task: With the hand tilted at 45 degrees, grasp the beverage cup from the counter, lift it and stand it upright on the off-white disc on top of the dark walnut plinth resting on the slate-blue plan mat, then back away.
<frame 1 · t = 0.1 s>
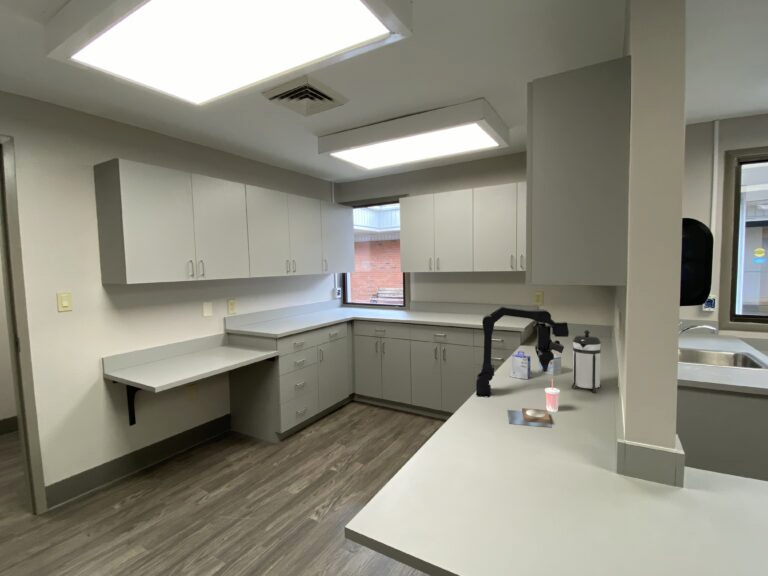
hand: (544, 368, 177), 15 cm above the worktop, tool pointing down, fingers open, 9 cm apart
beverage cup: (552, 410, 165), on the worktop
coffee press: (586, 387, 192), on the worktop
light bulb box: (549, 373, 218), on the worktop
blueprint plinth: (535, 418, 157), on the worktop
ink cartridge box: (520, 377, 211), on the worktop
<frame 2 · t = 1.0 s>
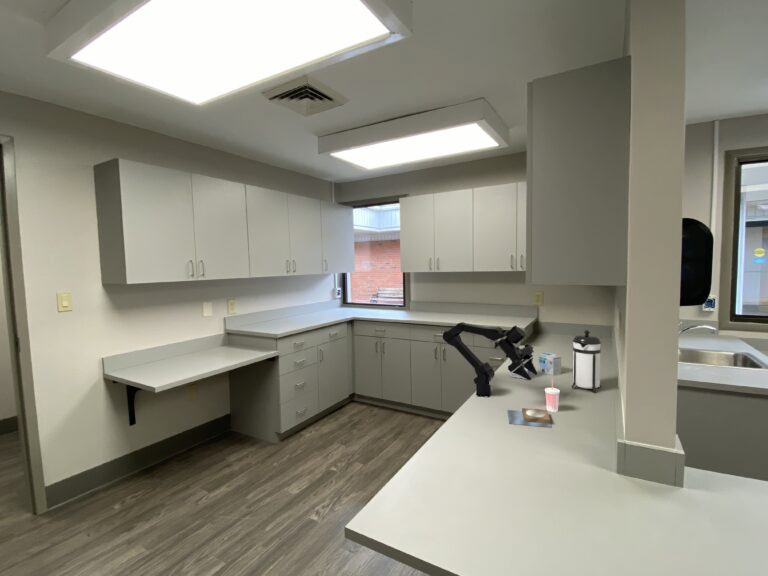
hand: (533, 377, 169), 13 cm above the worktop, tool tilted 45°, fingers open, 9 cm apart
nothing on the worktop moved.
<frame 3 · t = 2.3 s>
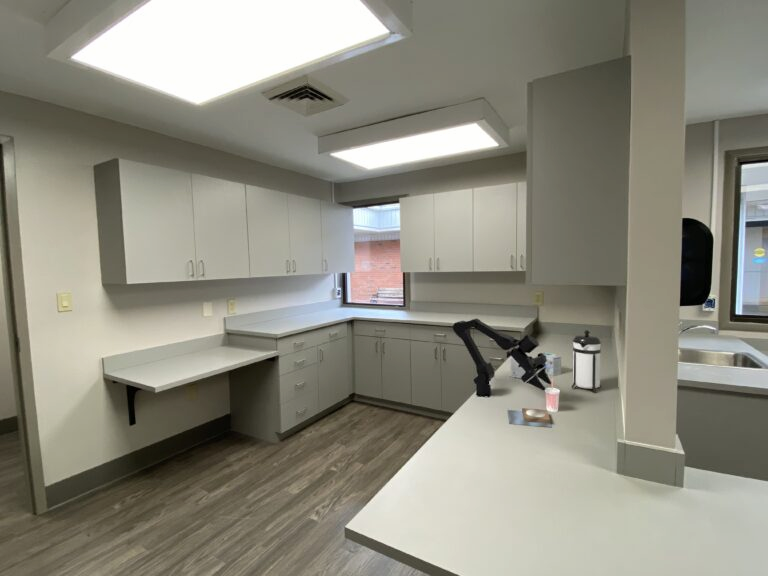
hand: (547, 386, 166), 10 cm above the worktop, tool tilted 45°, fingers open, 9 cm apart
nothing on the worktop moved.
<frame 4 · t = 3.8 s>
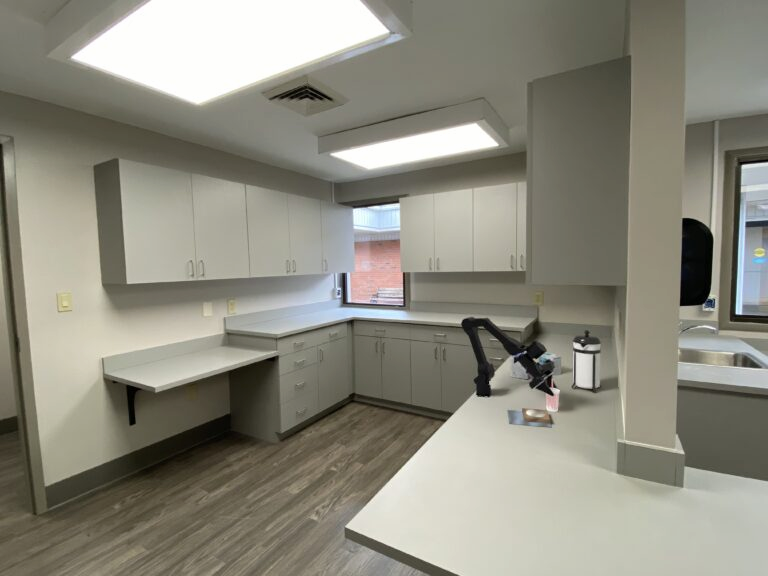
hand: (555, 393, 164), 8 cm above the worktop, tool tilted 45°, fingers closed on beverage cup, 6 cm apart
beverage cup: (552, 410, 165), on the worktop, touching gripper
everything else where it was.
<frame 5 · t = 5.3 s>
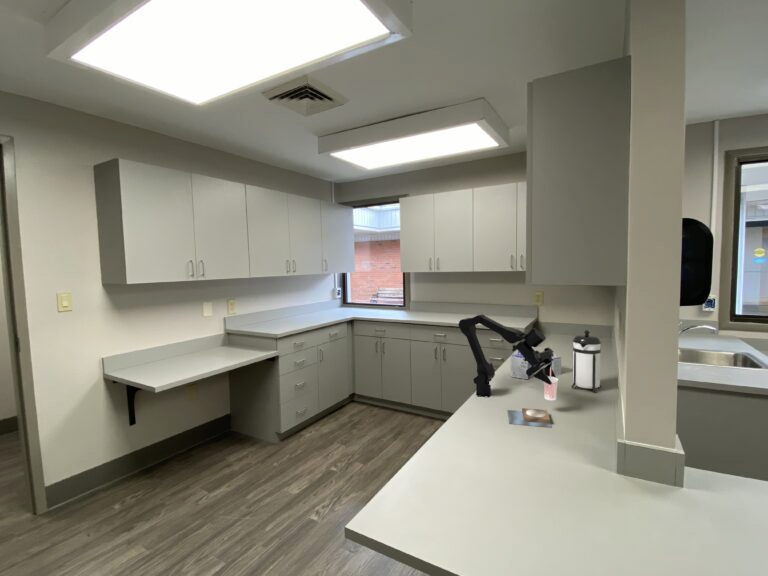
hand: (553, 382, 162), 13 cm above the worktop, tool tilted 45°, fingers closed on beverage cup, 6 cm apart
beverage cup: (550, 398, 163), point 5 cm above the worktop, touching gripper
everything else where it was.
when the fingers open (11 cm above the worktop, at t = 7.3 s): beverage cup stays where it is, resting on blueprint plinth.
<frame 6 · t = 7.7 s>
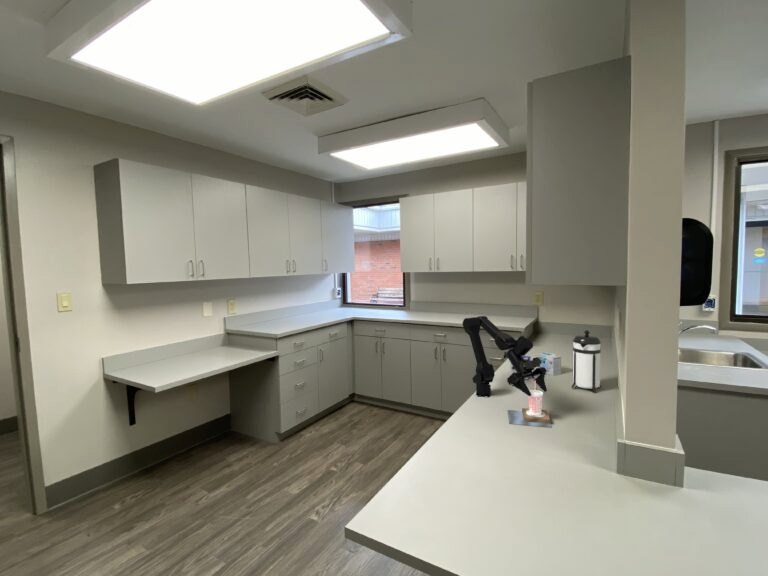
hand: (538, 393, 155), 11 cm above the worktop, tool tilted 45°, fingers open, 9 cm apart
beverage cup: (535, 413, 157), point 2 cm above the worktop, touching blueprint plinth
everything else where it was.
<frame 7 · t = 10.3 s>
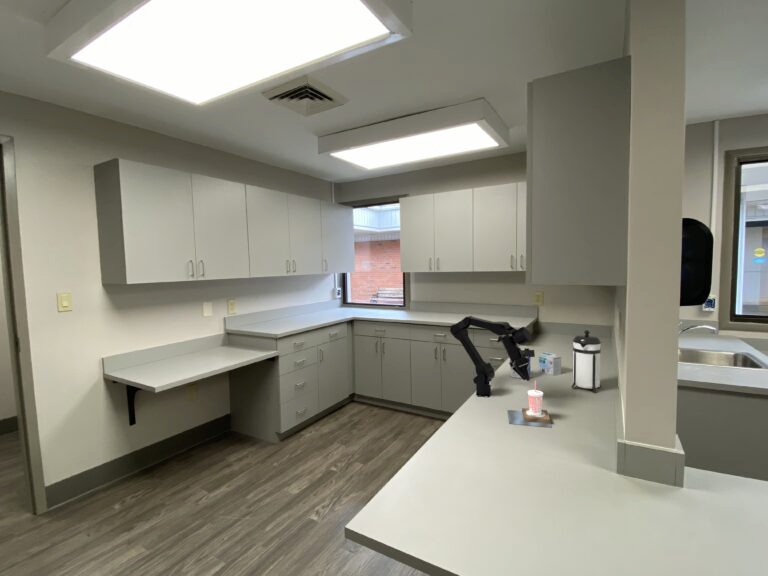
hand: (526, 380, 169), 12 cm above the worktop, tool tilted 25°, fingers open, 9 cm apart
nothing on the worktop moved.
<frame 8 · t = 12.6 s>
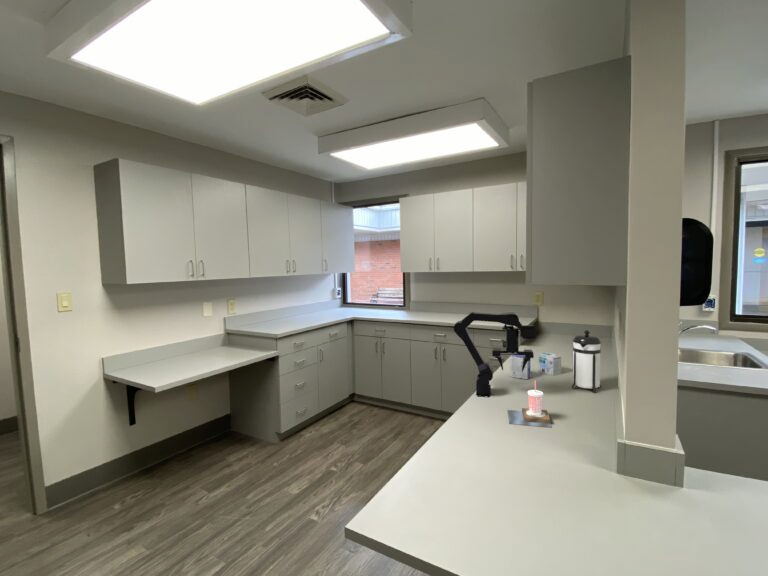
hand: (512, 370, 181), 13 cm above the worktop, tool pointing down, fingers open, 9 cm apart
nothing on the worktop moved.
at the end: beverage cup inside the target area on the blueprint plinth (0.1 cm from its centre), point 2.0 cm above the blueprint plinth's base; beverage cup tilted 0°; the gripper is holding nothing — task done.
